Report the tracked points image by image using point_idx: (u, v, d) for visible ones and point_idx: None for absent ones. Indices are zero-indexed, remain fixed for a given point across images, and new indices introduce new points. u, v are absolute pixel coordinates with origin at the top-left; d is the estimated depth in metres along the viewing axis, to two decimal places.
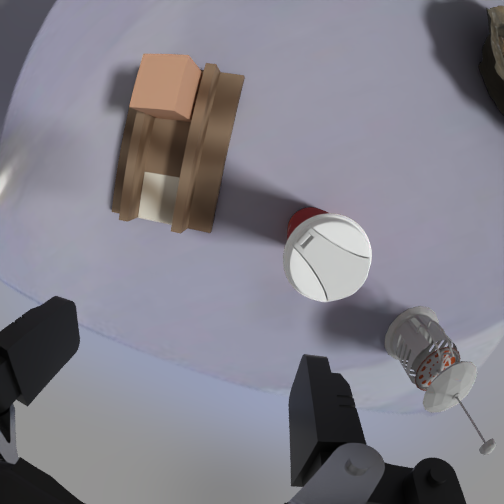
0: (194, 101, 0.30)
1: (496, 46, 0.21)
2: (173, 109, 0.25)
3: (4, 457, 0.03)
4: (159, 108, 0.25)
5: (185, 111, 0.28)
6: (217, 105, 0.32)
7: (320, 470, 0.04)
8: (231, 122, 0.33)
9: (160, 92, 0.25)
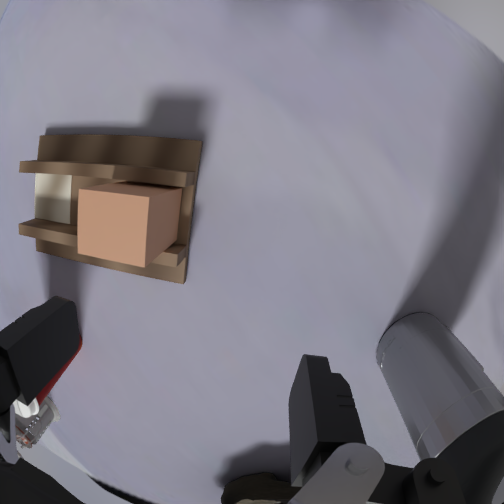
0: None
1: (275, 501, 0.32)
2: (78, 252, 0.20)
3: (4, 457, 0.03)
4: (78, 233, 0.20)
5: None
6: None
7: (320, 470, 0.04)
8: (127, 271, 0.29)
9: (95, 232, 0.20)
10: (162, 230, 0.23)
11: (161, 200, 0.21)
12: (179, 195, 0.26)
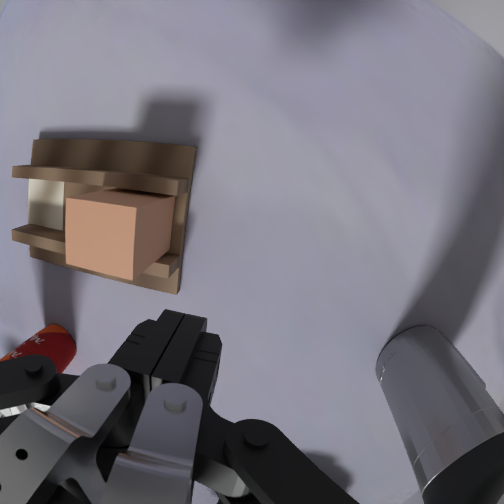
0: None
1: None
2: (67, 262, 0.19)
3: (89, 497, 0.04)
4: (66, 243, 0.19)
5: None
6: None
7: (142, 416, 0.05)
8: (120, 280, 0.28)
9: (82, 243, 0.19)
10: (152, 240, 0.22)
11: (150, 209, 0.20)
12: (172, 203, 0.25)
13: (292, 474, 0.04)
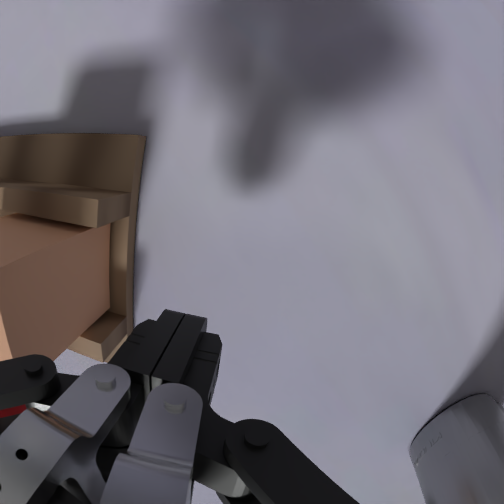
0: None
1: None
2: None
3: (89, 497, 0.04)
4: None
5: None
6: None
7: (142, 415, 0.05)
8: None
9: None
10: (60, 311, 0.11)
11: (41, 262, 0.09)
12: (103, 236, 0.14)
13: (292, 474, 0.04)
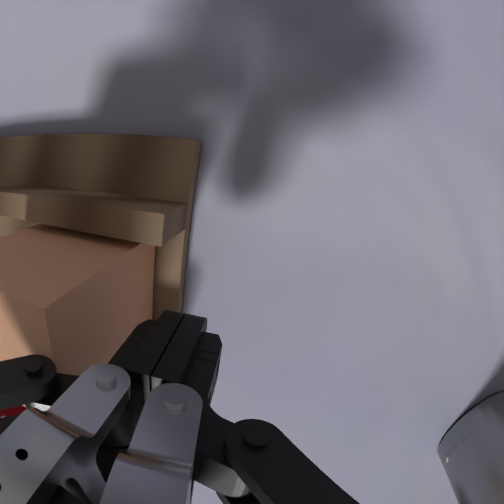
0: None
1: None
2: None
3: (89, 497, 0.04)
4: None
5: None
6: None
7: (142, 416, 0.05)
8: None
9: None
10: (111, 339, 0.10)
11: (94, 288, 0.08)
12: (149, 251, 0.13)
13: (292, 474, 0.04)
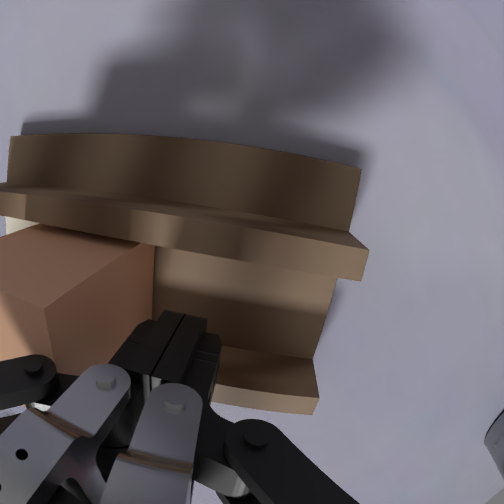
0: None
1: None
2: None
3: (89, 497, 0.04)
4: None
5: None
6: None
7: (142, 416, 0.05)
8: None
9: None
10: (111, 339, 0.10)
11: (94, 288, 0.08)
12: (149, 251, 0.13)
13: (292, 474, 0.04)
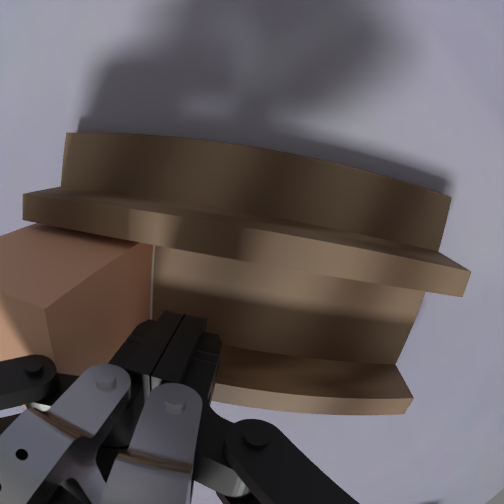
0: None
1: None
2: None
3: (89, 497, 0.04)
4: None
5: None
6: None
7: (142, 416, 0.05)
8: None
9: None
10: (110, 339, 0.10)
11: (94, 288, 0.08)
12: (147, 250, 0.13)
13: (292, 474, 0.04)
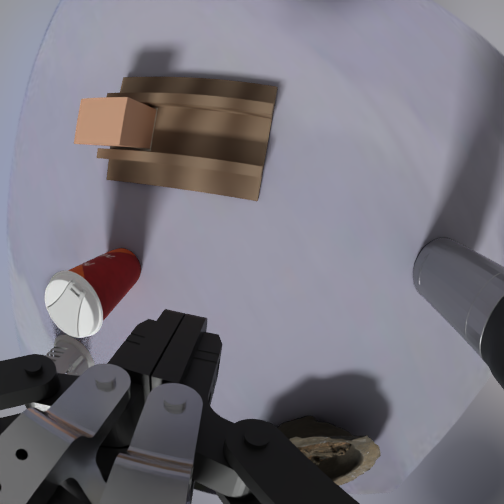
0: None
1: (322, 440, 0.37)
2: (74, 142, 0.26)
3: (89, 497, 0.04)
4: (76, 129, 0.25)
5: None
6: (223, 176, 0.34)
7: (142, 416, 0.05)
8: (205, 191, 0.35)
9: (88, 126, 0.25)
10: (136, 129, 0.28)
11: (137, 105, 0.27)
12: (153, 113, 0.32)
13: (292, 474, 0.04)
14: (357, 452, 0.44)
